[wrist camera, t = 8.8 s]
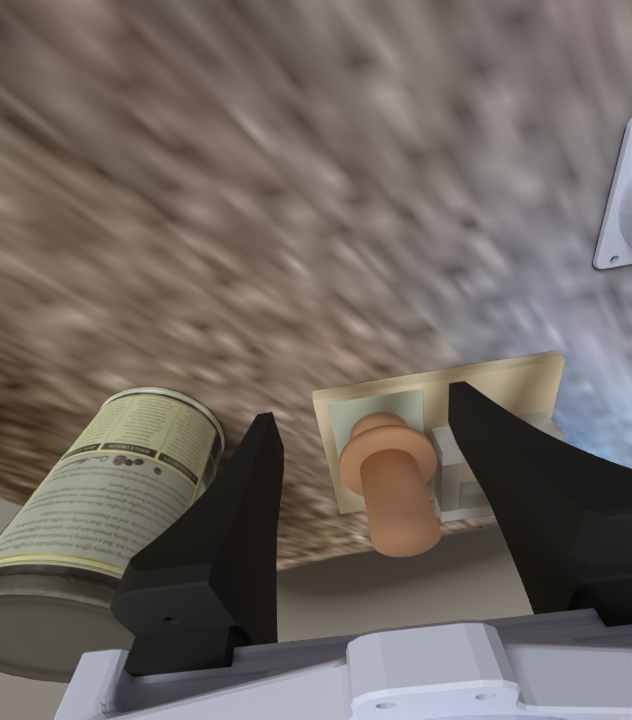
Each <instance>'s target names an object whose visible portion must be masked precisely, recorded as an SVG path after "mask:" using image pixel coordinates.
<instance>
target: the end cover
mask: <svg viewBox="0 0 632 720" xmlns="http://www.w3.org/2000/svg"><path fill="white" fill-rule="evenodd" d="M436 466H437V458H436V454H435V452H434V449H433V447H432V445H431V443H430V441H429V439H428V438H427V437H426V436H425V435H424V434H422V433H421V432H419V431H417V430H416V429H413V428H410V427H408V426H407V423H406V422H405V421H404V420H403V419H402V418H401V417H400V416H398V415H396V414H393V413H388V412H377V413H372V414H369V415H367V416H365V417H363V418H361V419H360V420H359V421H357V422H356V423H355V425H354V426H353V428H352V430H351V433H350V441H349V442H348V443H347V444H346V445H345V447H344V448H343V450H342V452H341V454H340V458H339V468H340V476H341V479H342V481H343V483H344V485H345V486H346V487H347V488H348V489H349V490H350V491H352V492H353V493H355V494H357V495H359V496H362V497H364V499H365V505H366V511H367V517H368V523H369V529H370V535H371V541H372V545H373V547H374V548H375V549H376V550H377V551H378V552H380V553H382V554H385V555H388V556H393V557H408V556H413V555H417V554H420V553H423V552H425V551H427V550H429V549H431V548H432V547H433V546H435V545H436V544H437V542H438V541H439V539H440V537H441V530H440V527H439V524H438V521H437V518H436V516H435V513H434V510H433V507H432V504H431V502H430V499H429V496H428V493H427V490H426V488H425V484H426V483H427V482H428V481H429V480H430V479H431V477H432V476H433V474H434V472H435V470H436Z"/></svg>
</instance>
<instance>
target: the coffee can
mask: <svg viewBox="0 0 632 720" xmlns="http://www.w3.org/2000/svg"><path fill="white" fill-rule="evenodd" d="M223 450H224V434H223V430H222V428H221V425H220V423H219V422H218V420H217V419H216V417H215V416H214V415H213V414H212V413H211V412H210V411H209V410H208V409H207V408H206V407H205V406H203V405H202V404H201V403H199V402H198V401H196V400H195V399H193V398H191V397H189V396H187V395H185V394H183V393H180V392H177V391H172V390H169V389H165V388H159V387H139V388H133V389H127V390H124V391H122V392H120V393H117V394H115V395H114V396H112V397H110V398H109V399H108V400H107V401H106V402H105V403H104V404H103V405H102V406H101V408H100V409H99V411H98V413H97V414H96V415H95V417H94V418H93V419H92V420H91V422H90V423H89V424H88V425H87V427H86V428H85V429H84V430H83V431H82V433H81V434H80V435H79V436H78V437H77V439H76V440H75V441H74V443H73V444H72V445H71V447H70V448H69V449H68V451H67V452H66V453H65V454H64V455H63V456H62V458H61V459H60V460H59V462H58V463H57V464H56V465H55V467H54V468H53V469H52V470H51V472H50V473H49V474H48V476H47V477H46V478H45V480H44V481H43V482H42V483H41V484H40V486H39V487H38V488H37V489H36V490H35V492H34V493H33V494H32V495H31V496H30V498H29V499H28V500H27V502H26V503H25V504H24V505H23V507H22V508H21V509H20V510H19V512H18V513H17V514H16V515H15V517H14V518H13V519H12V520H11V522H10V523H9V524H8V525H7V527H6V528H5V529H4V530H3V531H2V532H1V534H0V672H1V673H5V674H9V675H13V676H19V677H24V678H28V679H33V680H41V681H52V682H61V683H70V682H71V680H72V677H73V675H74V673H75V670H76V668H77V666H78V664H79V661H80V659H81V657H82V655H83V653H85V652H86V651H91V650H100V649H109V648H127V649H130V650H131V648H132V645H133V642H134V639H135V636H134V635H133V634H132V633H131V632H130V631H129V630H128V629H126V628H125V627H124V626H123V625H122V624H121V623H120V622H119V621H117V620H116V618H115V617H114V616H113V615H112V613H111V609H110V605H111V602H112V600H113V597H114V595H115V593H116V590H117V588H118V585H119V583H120V581H121V578H122V576H123V573H124V571H125V569H126V567H127V565H128V563H129V561H130V559H131V557H133V556H134V555H135V554H137V553H138V552H139V551H141V550H142V549H143V548H144V547H146V546H147V545H148V544H149V543H151V542H152V541H153V540H154V539H156V538H157V537H158V536H159V535H161V534H162V533H163V532H164V531H165V530H166V529H167V528H169V527H170V526H171V525H172V524H173V523H174V522H175V521H176V520H177V519H178V518H180V517H181V516H182V515H183V514H184V513H185V512H186V511H187V510H188V509H189V508H190V507H191V506H192V505H193V504H194V503H195V501H196V500H197V499H198V498H199V497H200V496H201V495H202V494H203V493H204V492H205V491H206V490H207V488H208V487H209V486H210V485H211V484H212V482H213V481H214V479H215V475H216V472H217V469H218V464H219V461H220V457H221V455H222V453H223Z"/></svg>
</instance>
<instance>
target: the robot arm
mask: <svg viewBox="0 0 632 720" xmlns="http://www.w3.org/2000/svg"><path fill="white" fill-rule="evenodd" d="M613 256H614V258H613V260H612V261H611V262H610V259H611V258H612V257H613ZM629 264H632V118H631V119H630V121H629V122H628V124H627V127H626V131H625V135H624V139H623V143H622V147H621V151H620V155H619V159H618V163H617V167H616V171H615V175H614V179H613V183H612V187H611V191H610V195H609V199H608V203H607V207H606V212H605V216H604V220H603V224H602V228H601V232H600V236H599V240H598V244H597V248H596V252H595V256H594V260H593V265H594V267H596V268H598V269H607V268H613V267H618V266H624V265H629ZM448 423H449V426H450V428H451V431H452V434H453V436H454V438H455V441H456V443H457V445H458V447H459V449H460V451H461V453H462V454H463V456H464V458H465V460H466V462H467V463H468V465H469V467H470V469H471V470H472V472H473V474H474V476H475V478H476V479H477V481H478V483H479V485H480V486H481V488H482V490H483V492H484V493H485V495H486V497H487V499H488V501H489V503H490V505H491V508H492V510H493V512H494V515H495V517H496V519H497V521H498V524H499V526H500V528H501V530H502V533H503V535H504V538H505V540H506V543H507V545H508V547H509V550H510V552H511V554H512V557H513V560H514V562H515V565H516V567H517V570H518V573H519V575H520V577H521V580H522V583H523V585H524V588H525V591H526V593H527V596H528V598H529V602H530V604H531V607H532V609H533V612H534V615H527V616H517V617H509V618H499V619H490V620H481V621H479V620H459V621H450V622H441V623H432V624H422V625H413V626H404V627H395V628H386V629H378V630H373V631H369V632H364V633H361V634H354V635H345V636H335V637H326V638H318V639H308V640H299V641H290V642H281V643H278V639H277V600H276V599H277V597H276V595H277V593H276V592H277V591H276V557H277V526H278V516H279V507H280V499H281V490H282V482H283V473H284V447H283V444H282V441H281V438H280V435H279V432H278V429H277V426H276V423H275V420H274V417H273V414H272V412H269V413H263V414H258V415H257V416H256V417H255V419H254V421H253V423H252V424H251V426H250V428H249V429H248V431H247V433H246V435H245V436H244V438H243V440H242V441H241V443H240V444H239V446H238V447H237V449H236V451H235V452H234V454H233V455H232V457H231V458H230V460H229V461H228V462H227V464H226V465H225V467H224V468H223V469H222V471H221V472H220V473H219V475H218V476H217V477H216V479H215V480H214V481H213V482H212V484H211V485H210V486H209V487H208V488H207V490H206V491H205V492H204V493H203V494H202V495H201V496H200V497H199V498H198V499H197V500H196V501H195V503H194V504H193V505H192V506H191V507H190V508H189V509H188V510H187V511H186V512H185V513H184V514H183V515H182V516H181V517H180V518H178V519H177V520H176V521H175V522H174V523H173V524H172V525H171V526H170V527H169V528H167V529H166V530H165V531H164V532H163V533H162V534H161V535H159V536H158V537H157V538H156V539H154V540H153V541H152V542H151V543H149V544H148V545H147V546H146V547H144V548H143V549H142V550H141V551H139V552H138V553H137V554H135V555H134V556H133V557H131V559H130V561H129V563H128V565H127V567H126V569H125V571H124V573H123V576H122V578H121V581H120V583H119V585H118V588H117V590H116V593H115V595H114V597H113V600H112V602H111V605H110V609H111V613H112V615H113V616H114V617H115V618H116V620H117V621H119V622H120V623H121V624H122V625H123V626H124V627H125V628H126V629H128V630H129V631H130V632H131V633H132V634H133V635H134V636H135V639H134V642H133V645H132V648H131V650H130V649H127V648H109V649H100V650H91V651H86V652H85V653H83V655H82V657H81V659H80V661H79V664H78V666H77V668H76V670H75V673H74V675H73V677H72V680H71V682H70V684H69V687H68V689H67V691H66V693H65V696H64V698H63V700H62V702H61V704H60V707H59V709H58V711H57V713H56V716H55V718H54V720H632V469H630V468H627V467H624V466H622V465H619V464H616V463H613V462H610V461H608V460H605V459H603V458H600V457H597V456H595V455H593V454H590V453H588V452H585V451H583V450H581V449H578V448H576V447H574V446H572V445H569V444H567V443H565V442H563V441H561V440H559V439H557V438H555V437H553V436H551V435H549V434H547V433H545V432H543V431H541V430H539V429H537V428H536V427H534V426H532V425H530V424H529V423H527V422H525V421H524V420H522V419H520V418H518V417H517V416H515V415H514V414H512V413H510V412H509V411H507V410H506V409H504V408H503V407H501V406H500V405H498V404H497V403H495V402H494V401H492V400H491V399H490V398H488V397H487V396H485V395H484V394H482V393H481V392H480V391H478V390H477V389H475V388H474V387H473V386H471V385H470V384H468V383H467V382H466V381H461V382H455V383H449V401H448Z"/></svg>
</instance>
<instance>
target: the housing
mask: <svg viewBox="0 0 632 720" xmlns="http://www.w3.org/2000/svg"><path fill="white" fill-rule="evenodd" d="M564 363H565V359H564V358H563V357H562V356H560V355H559V354H558V353H557V352H555V351H551V352H545V353H539V354H533V355H527V356H521V357H515V358H509V359H503V360H497V361H491V362H485V363H479V364H473V365H467V366H461V367H454V368H448V369H442V370H436V371H430V372H424V373H418V374H412V375H406V376H400V377H394V378H388V379H382V380H376V381H370V382H364V383H358V384H352V385H345V386H339V387H333V388H327V389H321V390H315V391H313V404H314V408H315V412H316V416H317V420H318V424H319V428H320V432H321V437H322V441H323V445H324V449H325V453H326V457H327V461H328V465H329V469H330V474H331V478H332V482H333V486H334V490H335V494H336V498H337V502H338V507H339V511H340V514H344V513H351V512H358V511H366V505H365V499H364V497H362V496H359V495H357V494H355V493H353V492H352V491H350V490H349V489H348V488H347V487H346V486H345V485H344V483H343V481H342V479H341V476H340V468H339V458H340V454H341V452H342V450H343V448H344V447H345V445H346V444H347V443H348V442H349V441H350V433H351V430H352V428H353V426H354V425H355V423H356V422H357V421H359V420H360V419H361V418H363V417H365V416H367V415H369V414H372V413H377V412H388V413H393V414H396V415H398V416H400V417H401V418H402V419H403V420H404V421H405V422H406V423H407V426H408V427H410V428H413V429H416V430H417V431H419V432H421V433H422V434H424V435H425V436H426V437H427V438H428V439H429V441H430V443H431V445H432V447H433V449H434V452H435V454H436V458H437V466H436V470H435V472H434V474H433V476H432V477H431V479H430V480H429V481H428V482H427V483H426V484H425V488H426V490H427V493H428V496H429V499H430V502H431V501H434V503H435V506H436V508H437V511H438V514H439V517H440V519H441V522H445V521H452V520H460V519H467V518H475V517H482V516H490V515H494V512H493V510H492V508H491V505H490V503H489V501H488V499H487V497H486V495H485V493H484V492H483V490H482V488H481V486H480V485H479V483H478V481H477V479H476V478H475V476H474V474H473V472H472V470H471V469H470V467H469V465H468V463H467V462H466V460H465V458H464V456H463V454H462V453H461V451H460V449H459V447H458V445H457V443H456V441H455V438H454V436H453V434H452V431H451V428H450V426H449V423H448V401H449V383H455V382H461V381H466V382H467V383H468V384H470V385H471V386H473V387H474V388H475V389H477V390H478V391H480V392H481V393H482V394H484V395H485V396H487V397H488V398H490V399H491V400H492V401H494V402H495V403H497V404H498V405H500V406H501V407H503V408H504V409H506V410H507V411H509V412H510V413H512V414H514V415H515V416H517V417H518V418H520V419H522V420H524V421H525V422H527V423H529V424H530V425H532V426H534V427H536V428H537V429H539V430H541V431H543V432H545V433H547V434H549V435H551V436H553V437H555V438H557V439H559V440H561V441H563V440H564V437H565V434H564V433H563V432H562V431H561V430H560V429H559V428H558V427H557V426H556V425H555V423H554V422H553V421H552V420H551V417H552V413H553V409H554V405H555V401H556V397H557V393H558V388H559V384H560V380H561V376H562V372H563V368H564Z"/></svg>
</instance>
